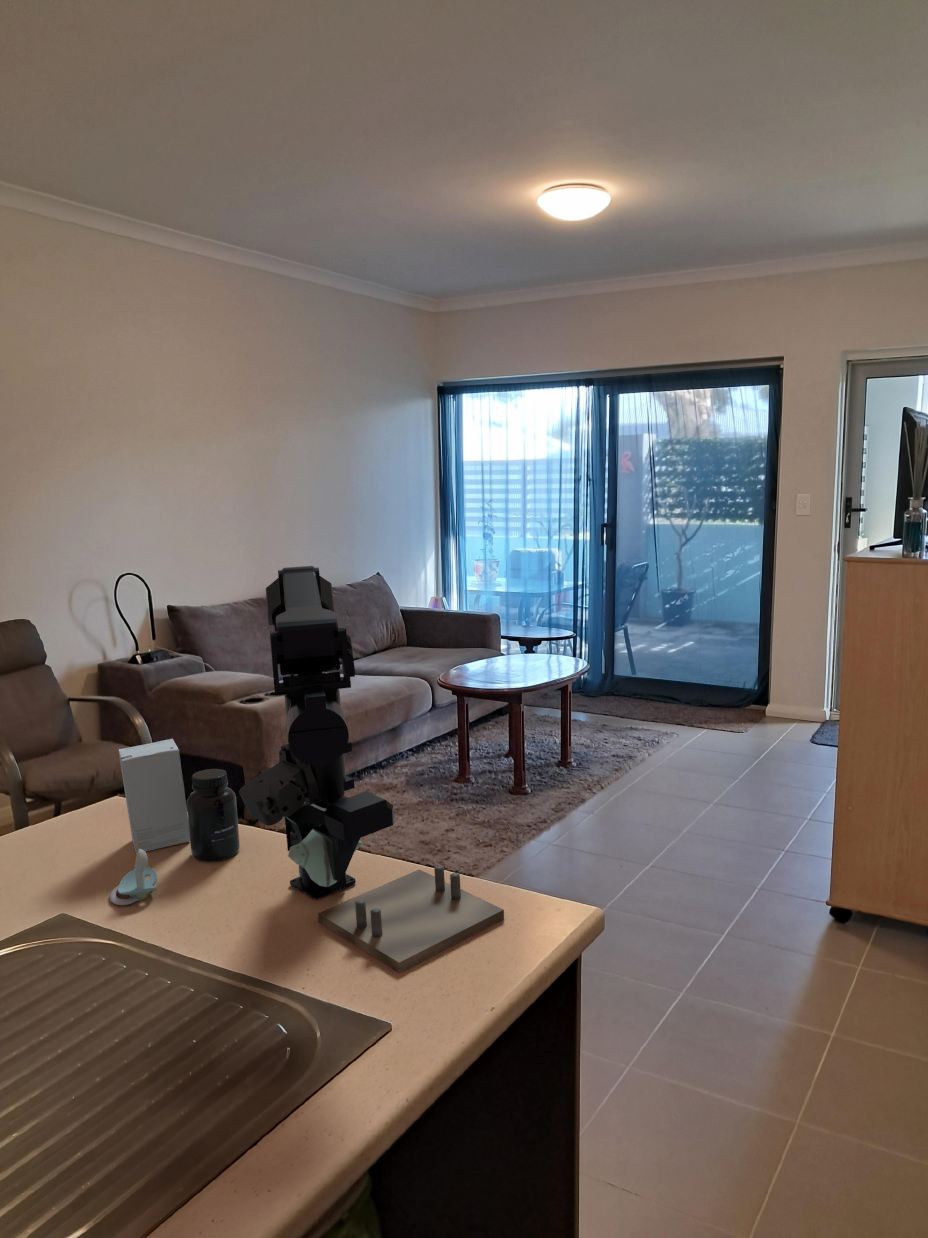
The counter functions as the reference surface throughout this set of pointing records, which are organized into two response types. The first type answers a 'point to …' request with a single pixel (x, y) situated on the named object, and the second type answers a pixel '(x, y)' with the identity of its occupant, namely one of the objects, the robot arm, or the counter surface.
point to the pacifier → (135, 882)
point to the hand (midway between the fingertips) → (326, 872)
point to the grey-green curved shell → (314, 858)
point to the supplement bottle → (212, 817)
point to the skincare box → (155, 795)
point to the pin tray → (411, 918)
